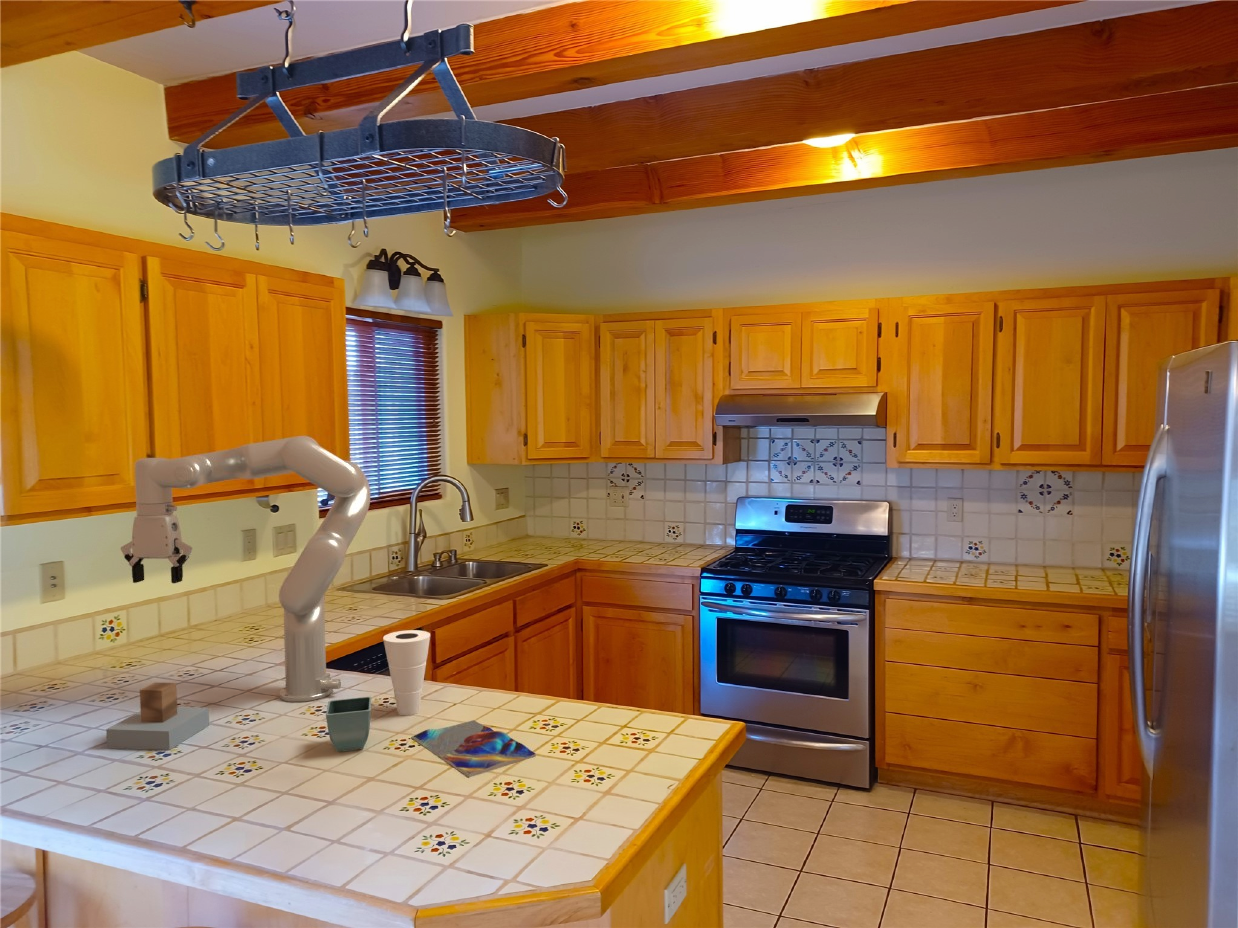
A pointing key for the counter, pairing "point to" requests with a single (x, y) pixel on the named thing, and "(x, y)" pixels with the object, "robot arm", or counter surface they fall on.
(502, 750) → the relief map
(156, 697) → the walnut block
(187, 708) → the pedestal
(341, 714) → the flower pot
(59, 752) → the counter surface
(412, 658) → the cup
